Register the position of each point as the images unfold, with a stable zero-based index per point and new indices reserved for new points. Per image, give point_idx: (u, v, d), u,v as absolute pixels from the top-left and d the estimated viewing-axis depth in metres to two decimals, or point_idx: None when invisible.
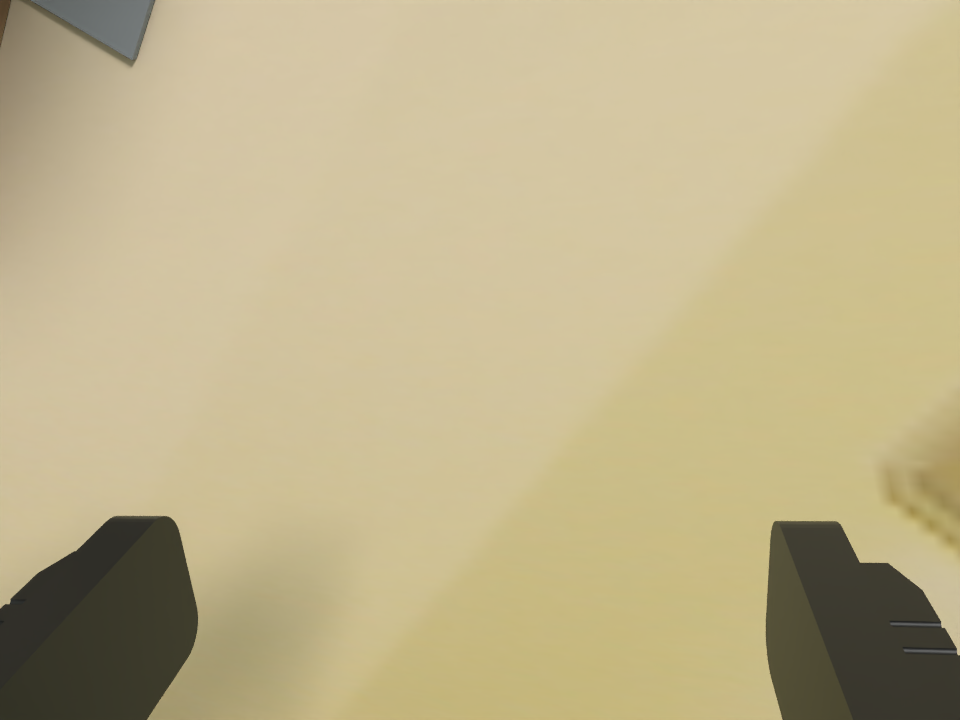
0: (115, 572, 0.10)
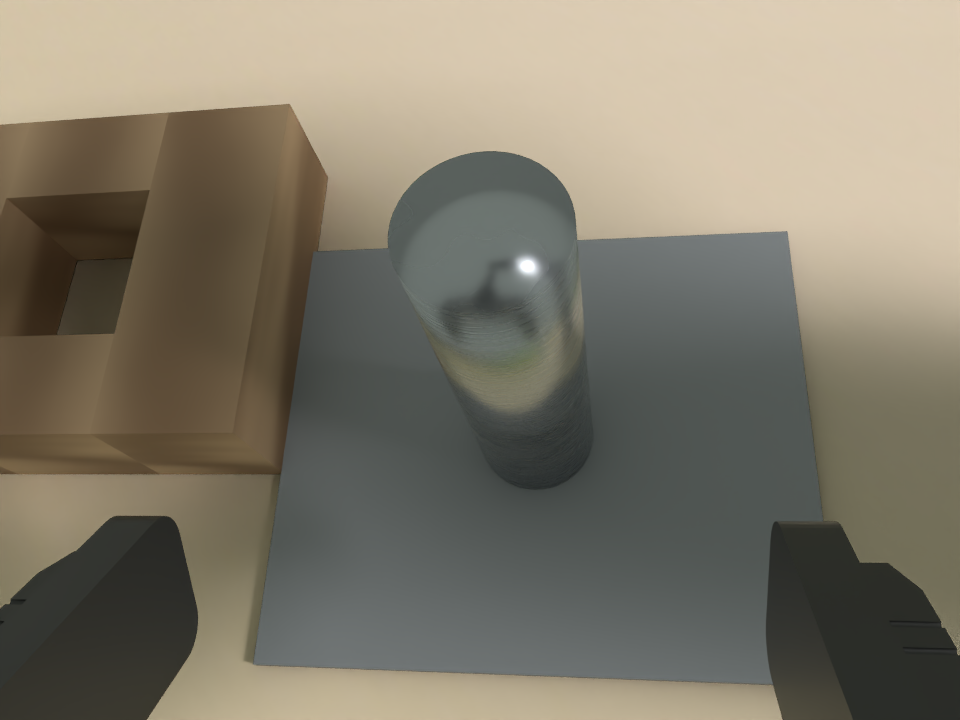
0: (115, 572, 0.10)
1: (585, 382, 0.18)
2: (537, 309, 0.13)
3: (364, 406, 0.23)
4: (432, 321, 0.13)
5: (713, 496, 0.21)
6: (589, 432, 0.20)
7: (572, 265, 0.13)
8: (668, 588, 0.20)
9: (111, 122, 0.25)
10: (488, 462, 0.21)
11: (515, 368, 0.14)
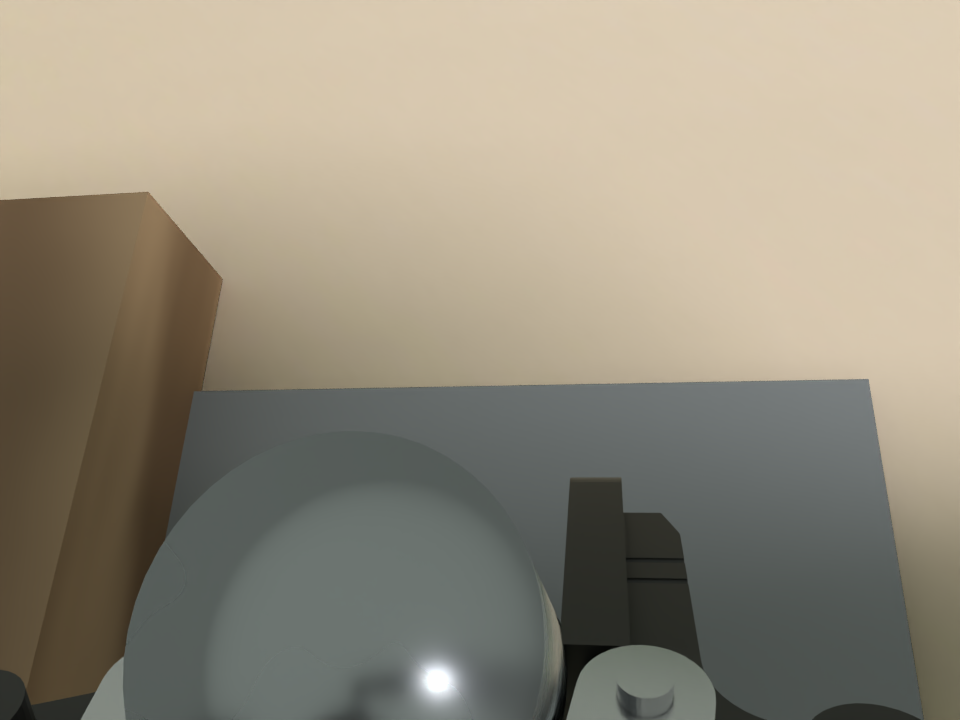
0: None
1: None
2: None
3: None
4: None
5: None
6: None
7: (538, 718, 0.06)
8: None
9: None
10: None
11: None
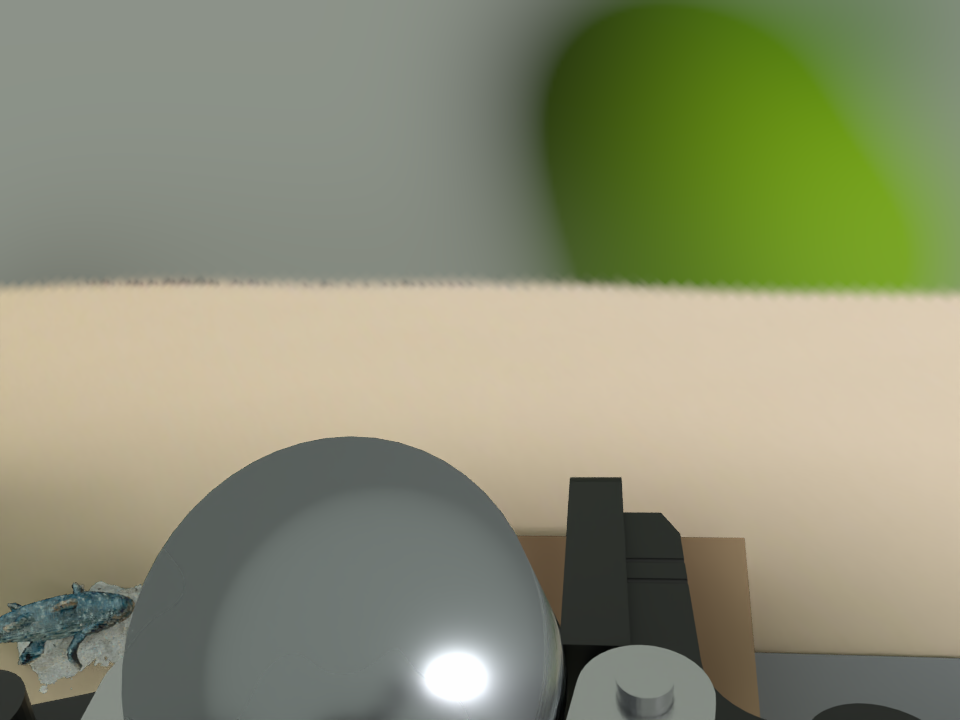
0: None
1: None
2: None
3: None
4: None
5: None
6: None
7: None
8: None
9: (560, 543, 0.26)
10: None
11: None
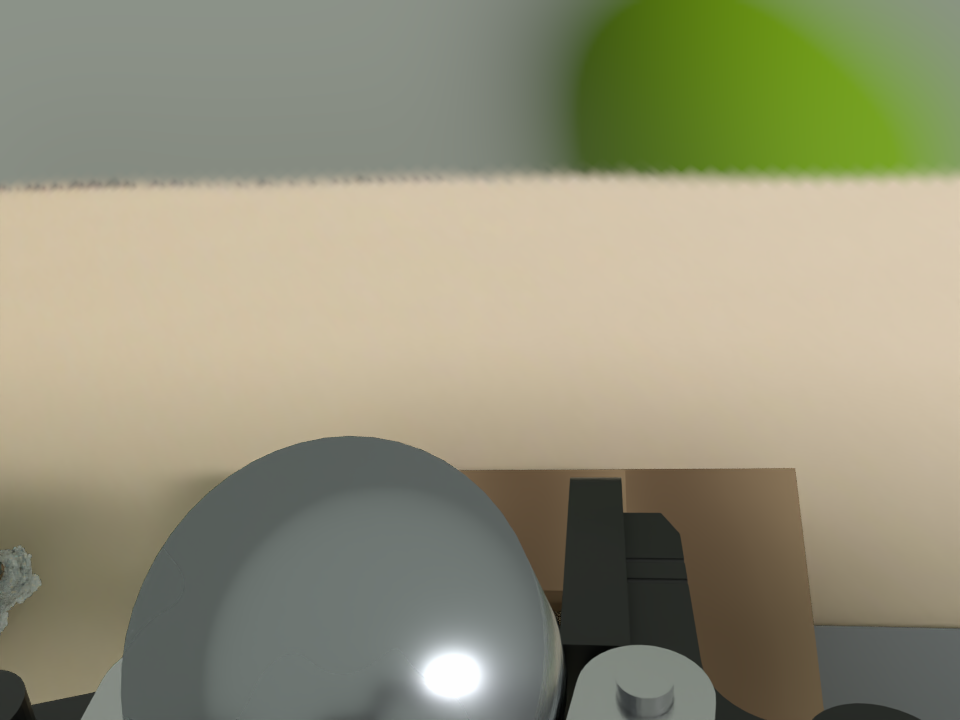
0: None
1: None
2: None
3: None
4: None
5: None
6: None
7: None
8: None
9: (547, 478, 0.19)
10: None
11: None
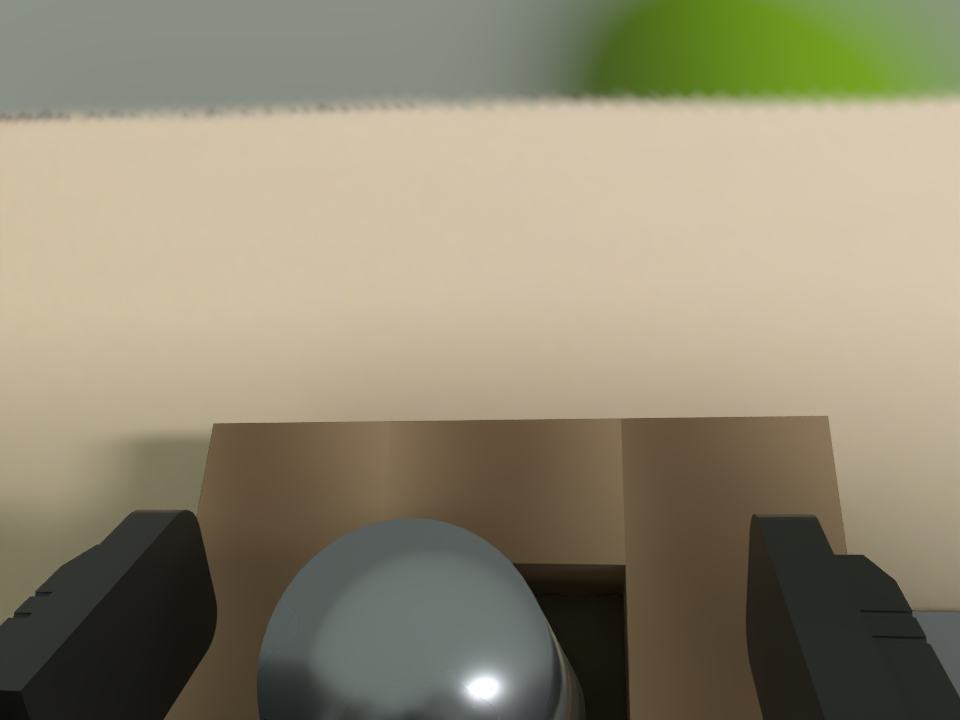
0: (139, 564, 0.10)
1: None
2: None
3: None
4: None
5: None
6: None
7: None
8: None
9: (526, 430, 0.16)
10: None
11: None
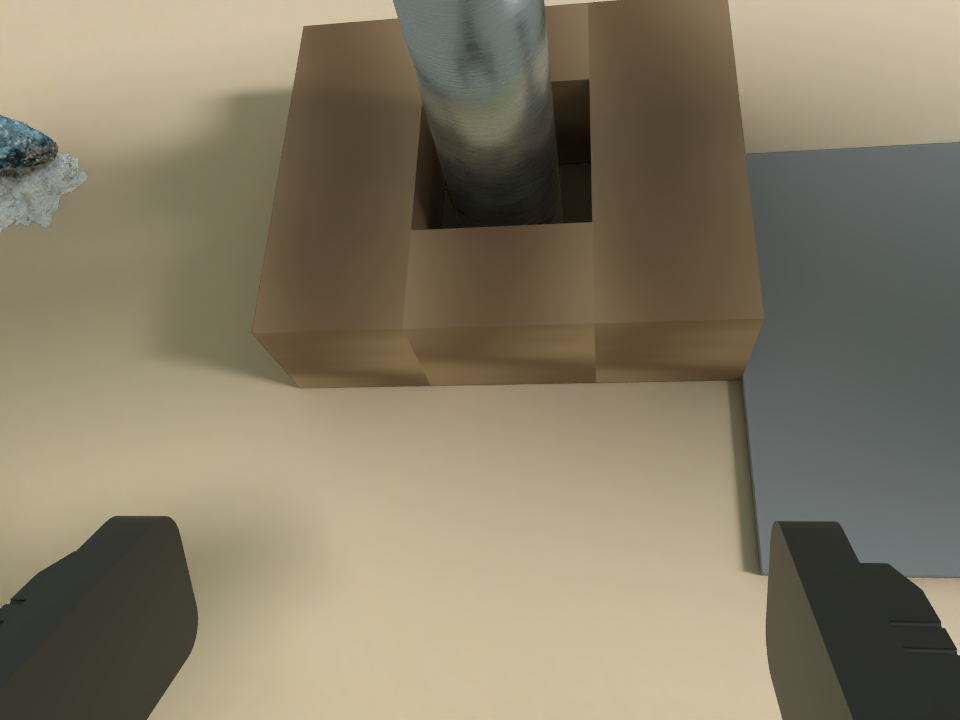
0: (115, 572, 0.10)
1: (552, 139, 0.20)
2: None
3: (822, 308, 0.22)
4: (416, 18, 0.16)
5: None
6: (559, 214, 0.23)
7: None
8: None
9: None
10: None
11: (487, 77, 0.17)
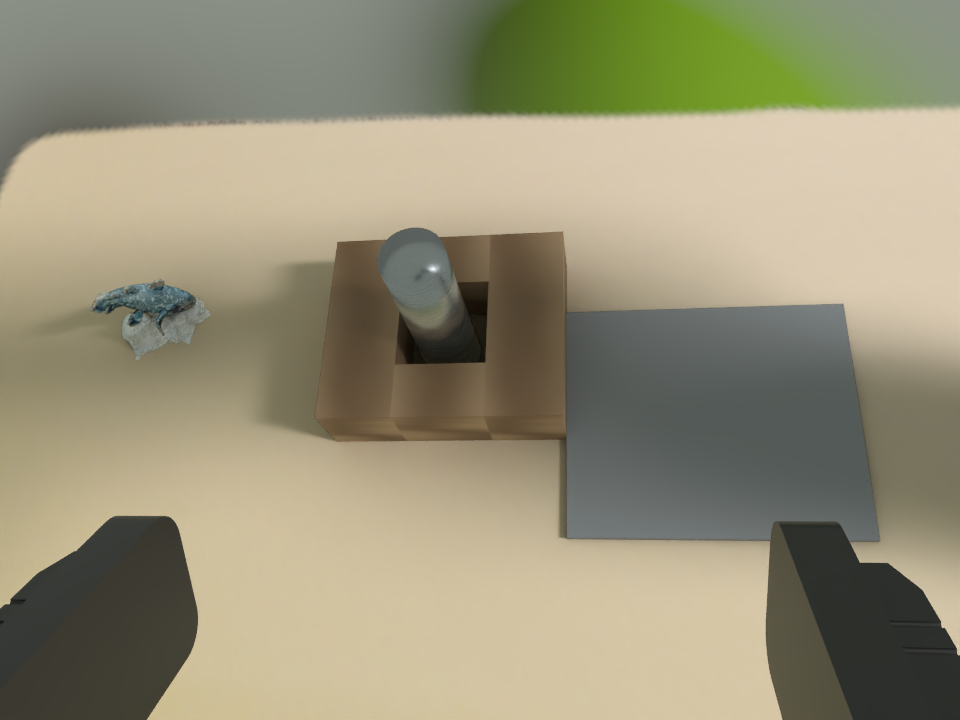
0: (115, 572, 0.10)
1: (465, 322, 0.40)
2: (432, 287, 0.35)
3: (609, 401, 0.42)
4: (393, 292, 0.36)
5: (809, 448, 0.39)
6: (474, 349, 0.43)
7: (445, 271, 0.36)
8: (787, 495, 0.39)
9: (456, 240, 0.43)
10: None
11: (427, 311, 0.37)
